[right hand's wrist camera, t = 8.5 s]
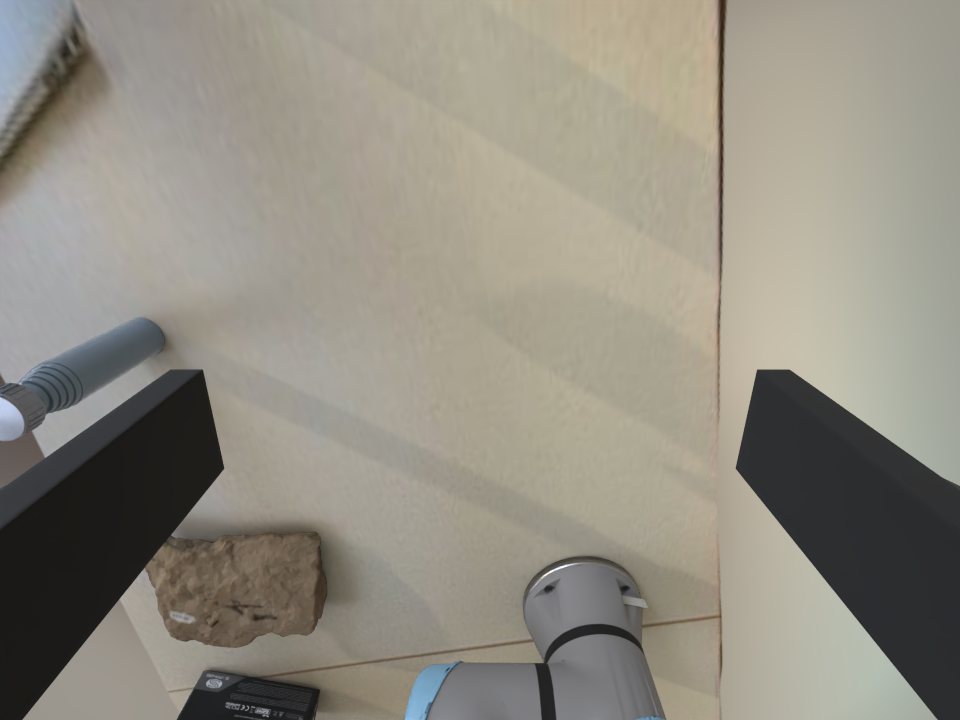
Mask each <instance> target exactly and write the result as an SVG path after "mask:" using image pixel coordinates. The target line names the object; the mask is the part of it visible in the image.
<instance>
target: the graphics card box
mask: <svg viewBox="0 0 960 720" xmlns="http://www.w3.org/2000/svg"><path fill="white" fill-rule="evenodd" d="M319 694H320V690H317V689H311V688H306V687H300V686H294V685H289V684H283V683H277V682H271V681H266V680H260V679H255V678H248V677H244V676H237V675H231V674H226V673H221V672H214V671H209V670H206V671H204V672H203V673H202V675H201V677H200V678H199V680H198V682H197V684H196V685H195V687H194V689H193V691H192V693H191V694H190V696H189V698H188V700H187V702H186V703H185V706H184V707H183V709H182V711H181V713H180V715H179V716H178V718H177V720H315V716H316V709H317V704H318V698H319Z"/></svg>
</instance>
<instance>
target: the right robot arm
mask: <svg viewBox="0 0 960 720" xmlns="http://www.w3.org/2000/svg"><path fill="white" fill-rule="evenodd" d="M736 469H737V471H738V472H739V473H740V474H741V476H742V477H743V478H744V479H745V481H746V482H747V483H748V484H749V486H750V487H751V488H752V489H753V491H754V492H755V493H756V494H757V496H758V497H759V498H760V499H761V501H762V502H763V503H764V504H765V506H766V507H767V508H768V509H769V511H770V512H771V513H772V514H773V515H774V517H775V518H776V519H777V520H778V522H779V523H780V524H781V525H782V527H783V528H784V529H785V530H786V532H787V533H788V534H789V535H790V537H791V538H792V539H793V540H794V542H795V543H796V544H797V545H798V547H799V548H800V549H801V550H802V552H803V553H804V554H805V555H806V557H807V558H808V559H809V560H810V562H811V563H812V564H813V565H814V566H815V568H816V569H817V570H818V571H819V573H820V574H821V575H822V576H823V578H824V579H825V580H826V581H827V583H828V584H829V585H830V586H831V588H832V589H833V590H834V591H835V592H836V594H837V595H838V596H839V598H840V599H841V600H842V601H843V603H844V604H845V605H846V606H847V608H848V609H849V610H850V611H851V612H852V614H853V615H854V616H855V617H856V619H857V620H858V621H859V622H860V624H861V625H862V626H863V627H864V629H865V630H866V631H867V632H868V634H869V635H870V636H871V637H872V639H873V640H874V641H875V642H876V644H877V645H878V646H879V647H880V649H881V650H882V651H883V652H884V654H885V655H886V656H887V657H888V658H889V660H890V661H891V662H892V663H893V665H894V666H895V667H896V668H897V670H898V671H899V672H900V673H901V675H902V676H903V677H904V678H905V680H906V681H907V682H908V683H909V685H910V686H911V687H912V688H913V690H914V691H915V692H916V693H917V695H918V696H919V697H920V698H921V699H922V701H923V702H924V703H925V704H926V706H927V707H928V708H929V709H930V711H931V712H932V713H933V714H934V716H935V717H936V718H937V719H938V720H960V486H958V485H956V484H954V483H952V482H950V481H948V480H946V479H944V478H942V477H940V476H939V475H938V474H936V473H935V472H933V471H932V470H931V469H929V468H928V467H926V466H925V465H924V464H922V463H921V462H919V461H918V460H916V459H915V458H914V457H912V456H911V455H909V454H908V453H907V452H905V451H904V450H902V449H901V448H899V447H898V446H897V445H895V444H894V443H892V442H891V441H890V440H888V439H887V438H885V437H884V436H883V435H881V434H880V433H878V432H877V431H875V430H874V429H873V428H871V427H870V426H868V425H867V424H866V423H864V422H863V421H861V420H860V419H859V418H857V417H856V416H854V415H853V414H851V413H850V412H849V411H847V410H846V409H844V408H843V407H842V406H840V405H839V404H837V403H836V402H835V401H833V400H832V399H830V398H829V397H827V396H826V395H825V394H823V393H822V392H820V391H819V390H818V389H816V388H815V387H813V386H812V385H810V384H809V383H808V382H806V381H805V380H803V379H802V378H801V377H799V376H798V375H796V374H795V373H794V372H792V371H791V370H757V373H756V378H755V382H754V387H753V391H752V396H751V400H750V405H749V410H748V414H747V419H746V423H745V428H744V433H743V437H742V442H741V446H740V451H739V456H738V460H737V465H736ZM223 470H224V465H223V460H222V456H221V451H220V446H219V442H218V437H217V433H216V428H215V423H214V419H213V414H212V410H211V405H210V400H209V396H208V391H207V387H206V382H205V377H204V373H203V370H169V371H168V372H166V373H165V374H164V375H162V376H161V377H159V378H158V379H157V380H155V381H154V382H152V383H151V384H149V385H148V386H147V387H145V388H144V389H142V390H141V391H140V392H138V393H137V394H135V395H134V396H133V397H131V398H130V399H128V400H127V401H125V402H124V403H123V404H121V405H120V406H118V407H117V408H116V409H114V410H113V411H111V412H110V413H109V414H107V415H106V416H104V417H103V418H101V419H100V420H99V421H97V422H96V423H94V424H93V425H92V426H90V427H89V428H87V429H86V430H84V431H83V432H82V433H80V434H79V435H77V436H76V437H75V438H73V439H72V440H70V441H69V442H68V443H66V444H65V445H63V446H62V447H60V448H59V449H58V450H56V451H55V452H53V453H52V454H51V455H49V456H48V457H46V458H45V459H44V460H42V461H41V462H39V463H38V464H36V465H35V466H34V467H32V468H31V469H29V470H28V471H27V472H25V473H24V474H22V475H21V476H20V477H18V478H17V479H15V480H14V481H12V482H11V483H10V484H8V485H6V486H4V487H2V488H0V720H22V719H23V718H24V717H25V716H26V714H27V713H28V712H29V711H30V709H31V708H32V707H33V706H34V704H35V703H36V702H37V701H38V700H39V698H40V697H41V696H42V695H43V693H44V692H45V691H46V690H47V688H48V687H49V686H50V685H51V683H52V682H53V681H54V680H55V678H56V677H57V676H58V675H59V673H60V672H61V671H62V670H63V668H64V667H65V666H66V665H67V663H68V662H69V661H70V660H71V658H72V657H73V656H74V655H75V653H76V652H77V651H78V650H79V648H80V647H81V646H82V645H83V644H84V642H85V641H86V640H87V639H88V637H89V636H90V635H91V634H92V632H93V631H94V630H95V629H96V627H97V626H98V625H99V624H100V622H101V621H102V620H103V619H104V617H105V616H106V615H107V614H108V612H109V611H110V610H111V609H112V608H113V606H114V605H115V604H116V603H117V601H118V600H119V599H120V598H121V596H122V595H123V594H124V593H125V591H126V590H127V589H128V588H129V586H130V585H131V584H132V583H133V581H134V580H135V579H136V578H137V576H138V575H139V574H140V573H141V571H142V570H143V569H144V568H145V566H146V565H147V564H148V563H149V562H150V560H151V559H152V558H153V557H154V555H155V554H156V553H157V552H158V550H159V549H160V548H161V547H162V545H163V544H164V543H165V542H166V540H167V539H168V538H169V537H170V535H171V534H172V533H173V532H174V530H175V529H176V528H177V527H178V525H179V524H180V523H181V522H182V520H183V519H184V518H185V517H186V516H187V514H188V513H189V512H190V511H191V509H192V508H193V507H194V506H195V504H196V503H197V502H198V501H199V499H200V498H201V497H202V496H203V494H204V493H205V492H206V491H207V489H208V488H209V487H210V486H211V484H212V483H213V482H214V481H215V479H216V478H217V477H218V476H219V474H220V473H221V472H222V471H223ZM642 607H644V608H648V607H647V604H646V602H645V600H643V599H641V596H640V593H639V590H638V588H637V585H636V583H635V581H634V579H633V578H632V576H631V575H630V574H629V573H628V572H627V571H626V570H625V569H623V568H622V567H621V566H619V565H617V564H615V563H613V562H611V561H608V560H605V559H601V558H596V557H574V558H569V559H565V560H561V561H558V562H556V563H554V564H551V565H550V566H548V567H546V568H545V569H543V570H542V571H540V572H539V573H538V574H537V575H536V576H535V577H534V578H533V579H532V580H531V582H530V583H529V585H528V586H527V588H526V591H525V593H524V598H523V610H524V618H525V622H526V625H527V628H528V631H529V633H530V635H531V637H532V639H533V641H534V643H535V645H536V647H537V649H538V651H539V653H540V655H541V657H542V659H543V661H544V663H464V662H463V661H458V662H454V663H452V664H434V665H431V666H428V667H427V668H425V669H424V670H422V672H421V673H420V674H419V676H418V677H417V679H416V681H415V683H414V686H413V688H412V691H411V695H410V698H409V702H408V706H407V710H406V714H405V719H404V720H666V717H665V715H664V712H663V709H662V706H661V703H660V700H659V697H658V694H657V691H656V688H655V685H654V682H653V679H652V676H651V673H650V670H649V667H648V664H647V661H646V658H645V655H644V652H643V649H642V646H641V643H642V612H643V609H642Z"/></svg>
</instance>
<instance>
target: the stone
mask: <svg viewBox="0 0 960 720" xmlns="http://www.w3.org/2000/svg"><path fill="white" fill-rule="evenodd" d="M320 544H321V539H320V536H319V535H318V534H317V533H316V532H311V533H303V532H301V533H295V534H289V535H276V534H273V533H266V534H260V535H258V536H246V535H241V536H231V535H226V536H220V537H219V538H218V540H217V541H216V542H214V543H211V542H207V541H204V540H199V539H197V540H193V541H192V540H188V539H182V538H174V537H172V536H171V535H170V537H169V538H168V539H167V540H166V542H165V543H164V544H163V545H162V547H161V548H160V549H159V550H158V552H157V553H156V554H155V555H154V557H153V558H152V559H151V560H150V562H149V563H148V564H147V565H146V566H145V569H146V571H147V573H148V575H149V580H150V581H151V584H152V586H153V587H154V588H155V589H156V590H155V594H156V596H157V600H158V610H159V613H160V614H161V616H162V617H163V620H164V624H165V626H166V628H167V629H168V632H169V634H170V635H171V637H173V638H176V639H177V640H180V641H186V642H187V641H189V640H197V641H200V642H202V643H204V644H205V645H207V644H209V645H212V646H221V647H232V648H237V647H241V646H245V645H248V644H249V643H251V642H252V641H253V640H254V639H255V638H256V637H258V636H261V635H264V634H267V633H270V632H273V633H275V634H278V635H280V636H282V637H284V636H287V635H290V634H300V635H309V634H311V633H312V632H313V631H314V630H315V626H316V625H317V622H318V619H320V618H321V616H322V613H323V607H324V602H325V599H326V596H327V585H326V578H325V576H324V574H323V572H322V561H321V550H320Z"/></svg>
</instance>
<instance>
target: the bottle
mask: <svg viewBox="0 0 960 720" xmlns="http://www.w3.org/2000/svg"><path fill="white" fill-rule="evenodd" d="M163 346H164V335H163V333H162V331H161V329H160V328H159V327H158V326H157V325H156V324H155V323H153V322H152V321H150V320H148V319H144V318H134V319H132V320H130V321H128V322H125V323H123V324H121V325H119V326H117V327H115V328H113V329H111V330H109V331H107V332H105V333H103V334H101V335H99V336H97V337H95V338H92V339H90V340H88V341H86V342H84V343H82V344H80V345H78V346H76V347H74V348H72V349H70V350H68V351H66V352H64V353H62V354H59V355H57V356H55V357H53V358H51V359H49V360H47V361H45V362H43V363H41V364H39V365H38V366H36V367H35V368H33V369H32V370H31V371H30V372H29V373H28V374H27V375H26V376H25V377H24V378H23V379H22V380H21V381H20V382H19V383H17V384H20V385H23V386H26V387H28V388H29V389H31V390H32V391H34V392H35V393H36V394H37V395H38V396H39V397H40V398H41V400H42V401H43V403H44V406H45V409H46V414H48V413H52V412H55V411H60V410H62V409H67V408H69V407H71V406H74V405H76V404H78V403H79V402H81V401H82V400H84V399H86V398H87V397H89V396H90V395H92V394H93V393H95V392H97V391H98V390H100V389H101V388H103V387H105V386H106V385H108V384H109V383H111V382H113V381H114V380H116V379H117V378H119V377H121V376H122V375H124V374H125V373H127V372H128V371H130V370H132V369H133V368H135V367H136V366H138V365H140V364H141V363H143V362H144V361H146V360H148V359H149V358H151V357H152V356H154V355H156V354H157V353H159V352H160V351H161V350H162V348H163Z"/></svg>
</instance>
